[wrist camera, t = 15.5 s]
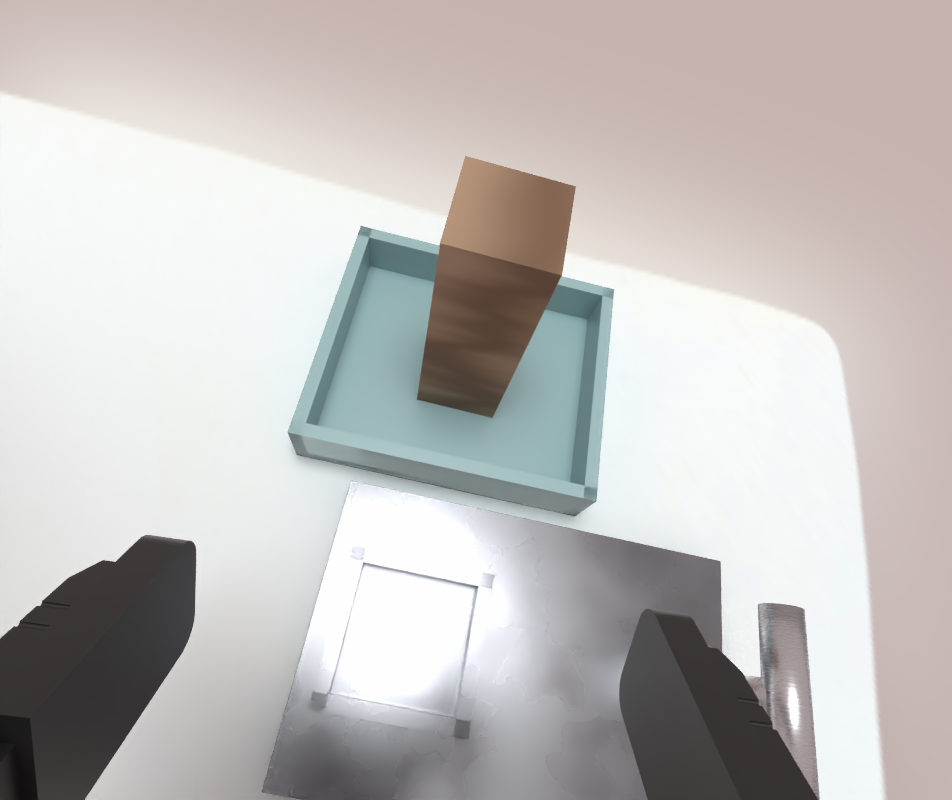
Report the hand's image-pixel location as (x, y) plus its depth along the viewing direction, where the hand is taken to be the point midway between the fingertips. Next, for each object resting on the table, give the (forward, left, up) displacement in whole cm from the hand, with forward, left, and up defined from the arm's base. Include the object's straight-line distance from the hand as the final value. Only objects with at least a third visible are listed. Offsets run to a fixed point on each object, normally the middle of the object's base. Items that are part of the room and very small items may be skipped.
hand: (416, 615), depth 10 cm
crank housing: (+6, 0, -16) cm, 17 cm away
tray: (+1, +13, -16) cm, 20 cm away
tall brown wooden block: (+1, +13, -15) cm, 20 cm away
